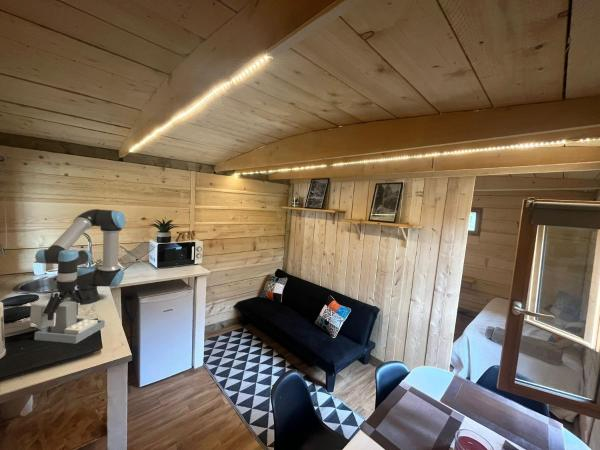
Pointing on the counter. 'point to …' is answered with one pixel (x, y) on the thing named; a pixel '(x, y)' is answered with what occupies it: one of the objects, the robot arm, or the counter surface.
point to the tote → (67, 338)
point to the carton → (80, 326)
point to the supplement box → (39, 314)
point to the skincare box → (64, 317)
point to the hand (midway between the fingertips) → (64, 320)
